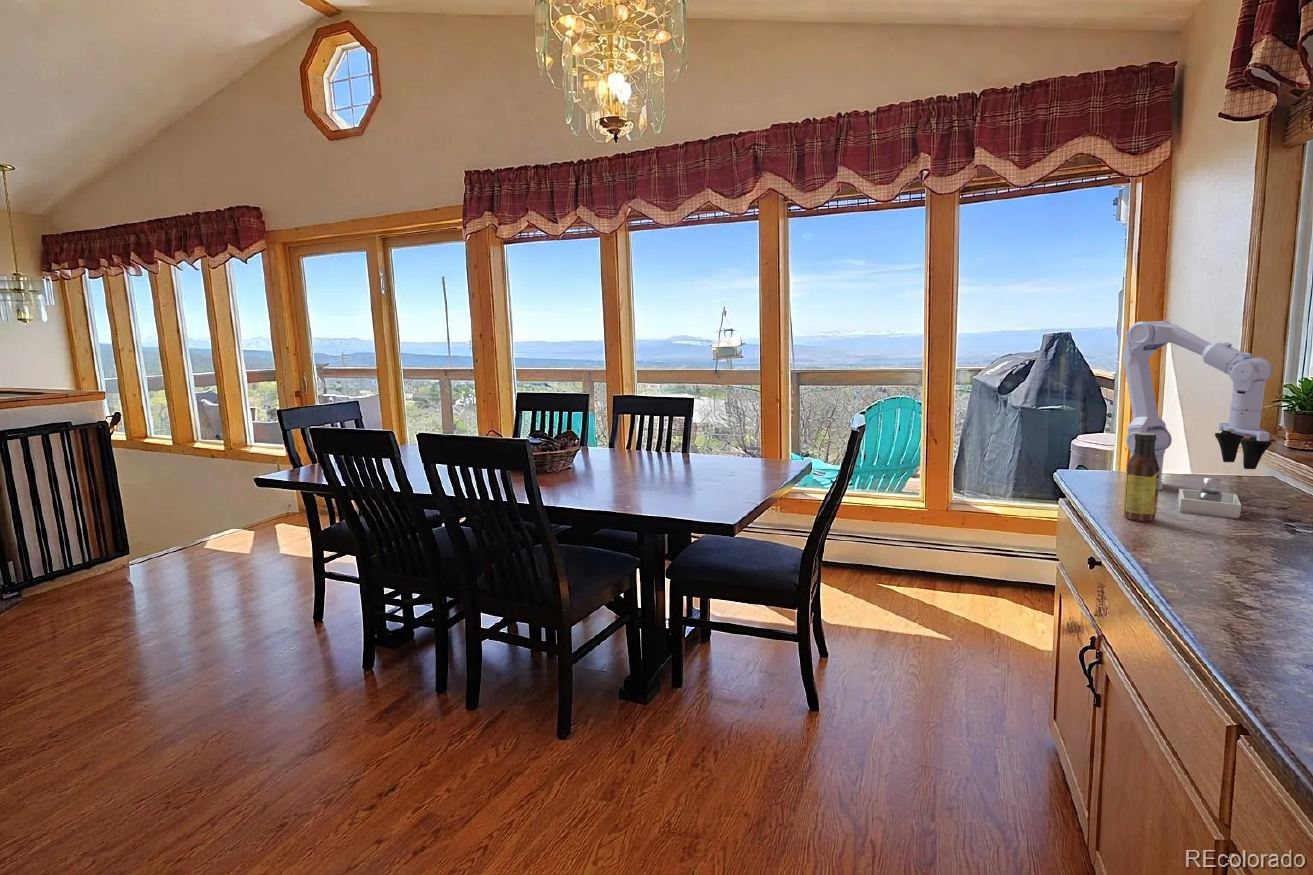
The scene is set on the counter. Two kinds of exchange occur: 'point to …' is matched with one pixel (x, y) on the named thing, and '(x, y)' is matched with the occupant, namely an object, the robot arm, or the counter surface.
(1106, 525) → the counter surface
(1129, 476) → the sauce bottle
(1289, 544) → the counter surface
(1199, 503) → the bin
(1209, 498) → the silver metal knob
